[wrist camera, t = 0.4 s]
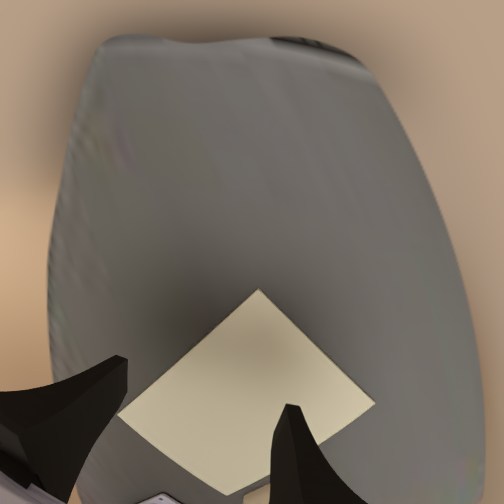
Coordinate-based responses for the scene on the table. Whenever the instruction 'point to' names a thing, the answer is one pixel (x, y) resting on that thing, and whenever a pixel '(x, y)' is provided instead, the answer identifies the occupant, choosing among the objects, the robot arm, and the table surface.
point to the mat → (243, 396)
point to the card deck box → (258, 496)
